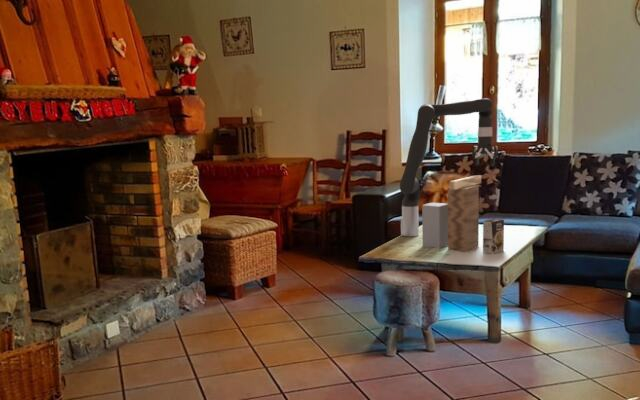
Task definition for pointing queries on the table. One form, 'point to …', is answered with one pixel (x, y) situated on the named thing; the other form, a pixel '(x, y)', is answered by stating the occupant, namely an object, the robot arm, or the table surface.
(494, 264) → the table surface
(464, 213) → the tall pedestal
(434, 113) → the robot arm
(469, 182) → the bar
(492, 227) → the coffee box
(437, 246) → the base pedestal
